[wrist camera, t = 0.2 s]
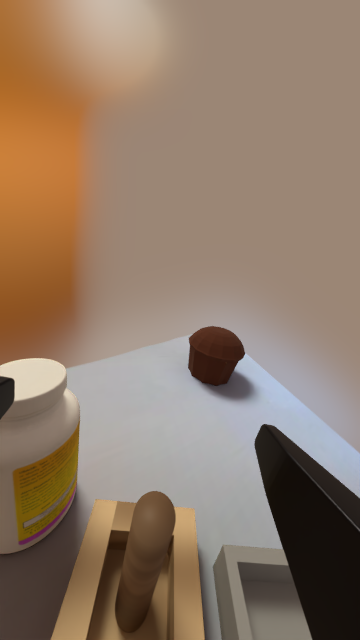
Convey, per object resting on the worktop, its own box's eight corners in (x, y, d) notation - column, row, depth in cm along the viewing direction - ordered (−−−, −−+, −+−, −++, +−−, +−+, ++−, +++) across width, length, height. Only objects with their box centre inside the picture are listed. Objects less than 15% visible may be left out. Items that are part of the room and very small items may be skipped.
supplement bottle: (87, 465, 20) (96, 358, 16) (52, 559, 14) (52, 422, 10) (18, 460, 20) (9, 345, 16) (-52, 557, 13) (-96, 407, 9)
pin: (146, 633, 12) (175, 548, 9) (110, 632, 12) (128, 544, 9) (151, 576, 14) (175, 493, 11) (119, 574, 14) (136, 489, 11)
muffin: (189, 389, 36) (202, 339, 33) (177, 357, 46) (185, 317, 43) (245, 390, 39) (262, 345, 36) (222, 360, 49) (233, 323, 46)
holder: (196, 750, 10) (211, 733, 9) (23, 753, 9) (20, 735, 8) (186, 530, 17) (194, 508, 16) (93, 522, 16) (95, 499, 15)
